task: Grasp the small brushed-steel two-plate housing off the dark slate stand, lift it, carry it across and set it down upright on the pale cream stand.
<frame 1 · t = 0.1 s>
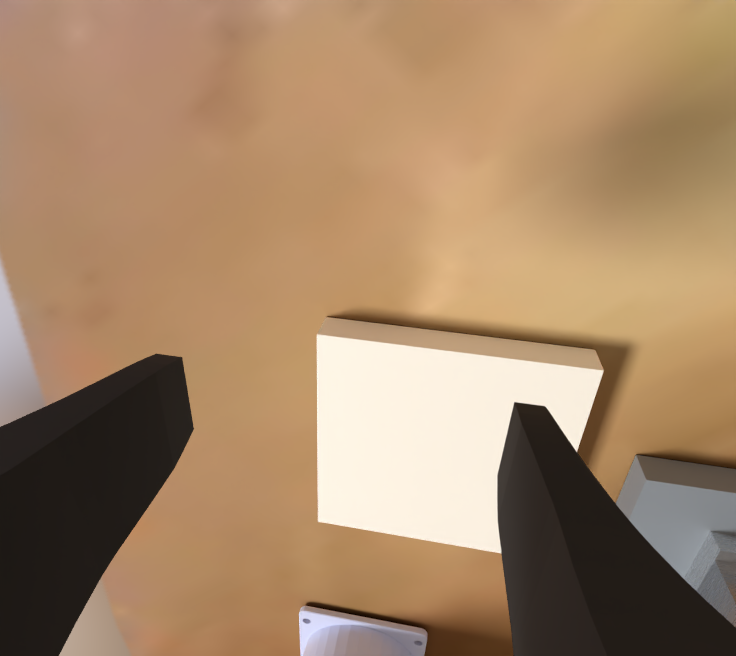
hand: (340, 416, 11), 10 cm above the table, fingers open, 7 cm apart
stand b: (440, 434, 24), on the table
housing: (735, 586, 23), point 1 cm above the table, touching stand a
stand a: (721, 557, 24), on the table
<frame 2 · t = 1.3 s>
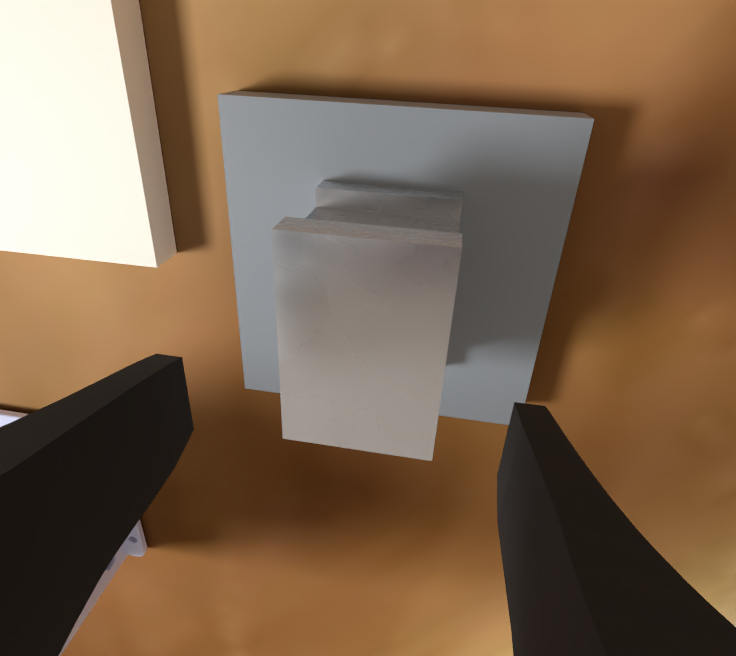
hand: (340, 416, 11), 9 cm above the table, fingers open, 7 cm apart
stand b: (9, 91, 18), on the table
housing: (385, 279, 17), point 1 cm above the table, touching stand a
stand a: (391, 263, 19), on the table
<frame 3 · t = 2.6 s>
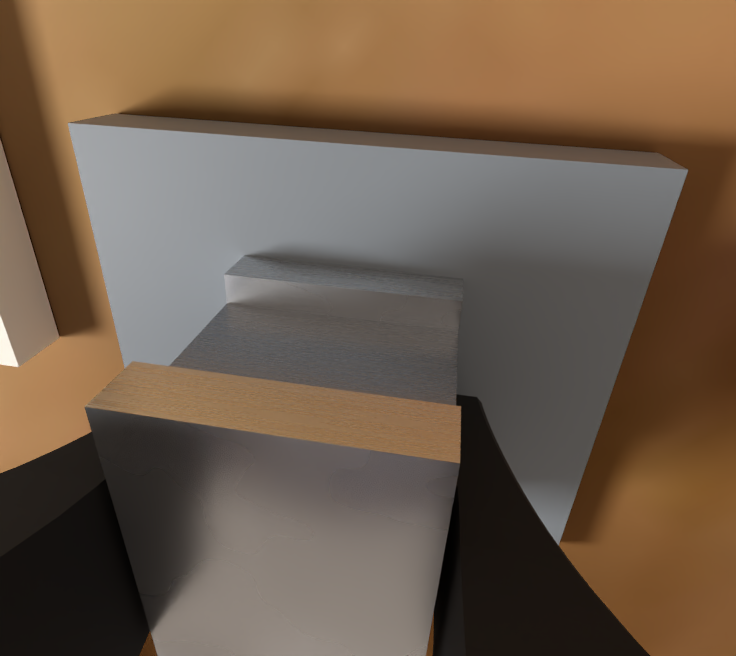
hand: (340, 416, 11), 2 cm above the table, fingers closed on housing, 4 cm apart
housing: (347, 396, 12), point 1 cm above the table, touching gripper, stand a
stand a: (359, 361, 13), on the table
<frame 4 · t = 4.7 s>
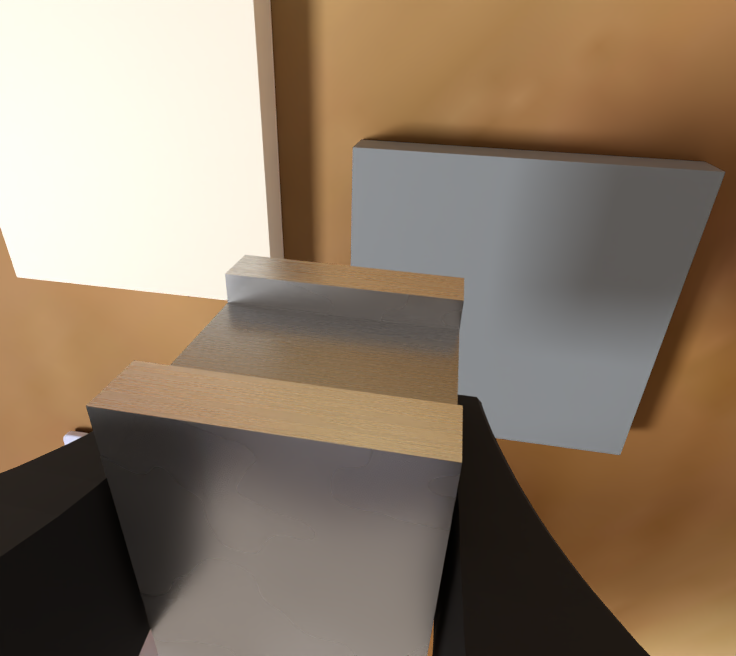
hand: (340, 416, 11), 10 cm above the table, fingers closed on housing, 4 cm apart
stand b: (135, 139, 19), on the table
housing: (347, 396, 12), point 9 cm above the table, touching gripper
stand a: (498, 299, 19), on the table
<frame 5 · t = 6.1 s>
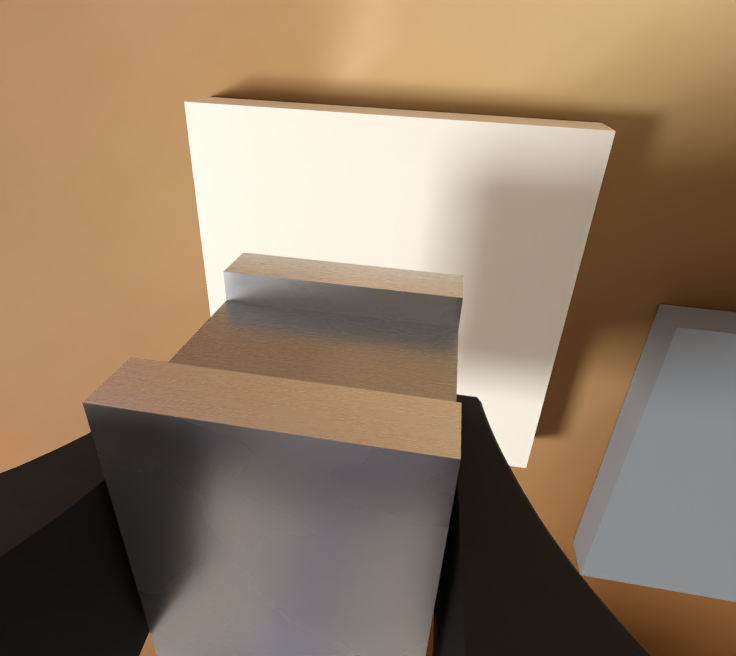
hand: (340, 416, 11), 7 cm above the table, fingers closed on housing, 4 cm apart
stand b: (384, 288, 17), on the table
housing: (346, 394, 12), point 6 cm above the table, touching gripper
when the fingers open (3 cm above the table, at t = 7.2 s): housing stays where it is, resting on stand b.
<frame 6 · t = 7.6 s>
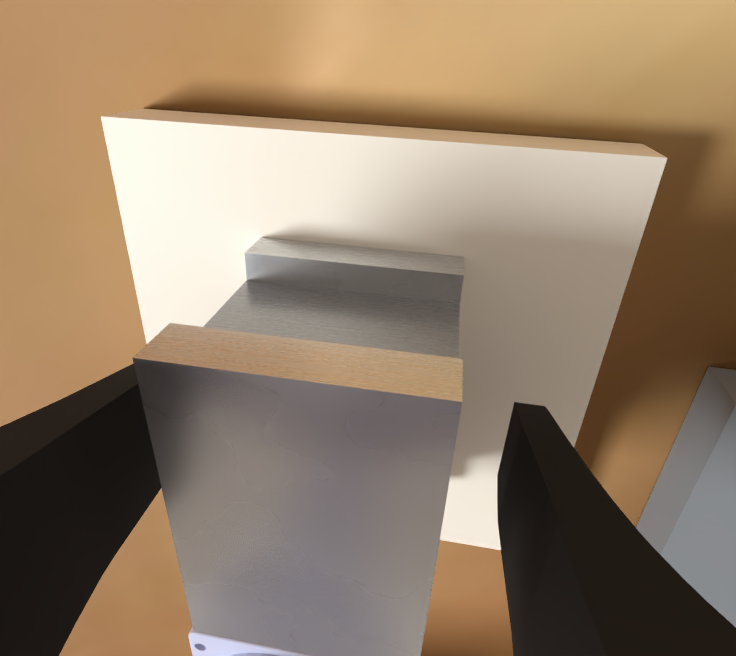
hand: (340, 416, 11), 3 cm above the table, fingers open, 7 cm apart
stand b: (365, 341, 14), on the table
housing: (356, 370, 12), point 1 cm above the table, touching stand b
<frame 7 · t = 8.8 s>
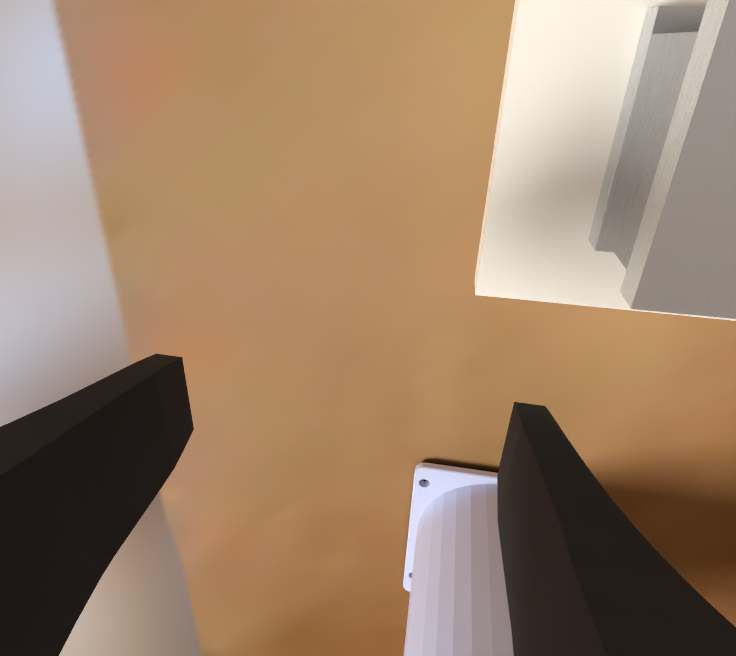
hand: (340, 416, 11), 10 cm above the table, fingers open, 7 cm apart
stand b: (674, 134, 16), on the table
housing: (694, 140, 15), point 1 cm above the table, touching stand b
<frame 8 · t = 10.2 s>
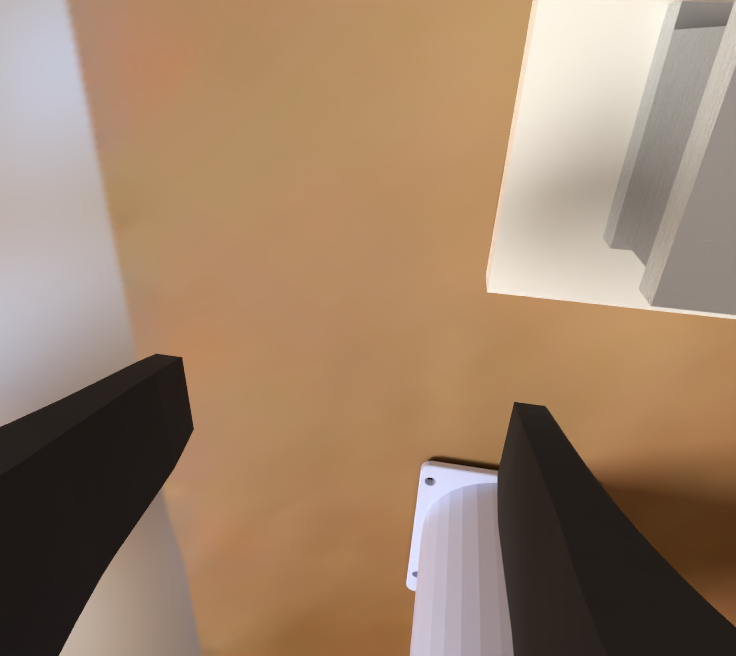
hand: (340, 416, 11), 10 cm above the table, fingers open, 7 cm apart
stand b: (691, 132, 16), on the table
housing: (712, 138, 15), point 1 cm above the table, touching stand b
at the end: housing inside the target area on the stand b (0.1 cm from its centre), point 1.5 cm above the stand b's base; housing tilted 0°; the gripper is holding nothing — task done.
